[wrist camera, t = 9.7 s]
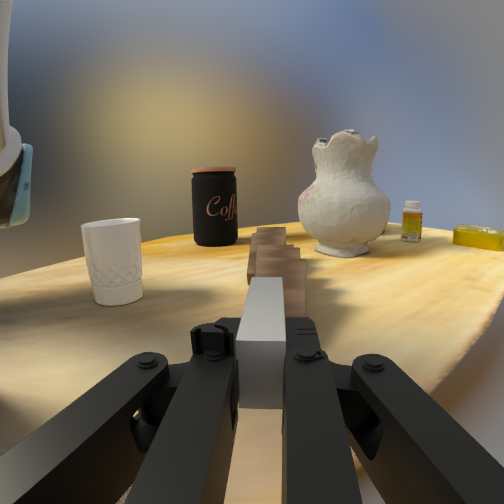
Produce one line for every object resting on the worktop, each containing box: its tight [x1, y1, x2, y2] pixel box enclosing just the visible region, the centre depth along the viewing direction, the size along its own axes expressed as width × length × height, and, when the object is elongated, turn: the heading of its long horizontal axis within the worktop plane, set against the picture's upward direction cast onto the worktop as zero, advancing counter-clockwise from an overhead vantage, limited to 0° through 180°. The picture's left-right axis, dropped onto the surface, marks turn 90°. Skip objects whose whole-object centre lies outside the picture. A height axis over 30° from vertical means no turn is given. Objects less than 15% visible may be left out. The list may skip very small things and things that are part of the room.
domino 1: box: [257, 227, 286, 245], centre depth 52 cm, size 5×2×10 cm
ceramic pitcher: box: [298, 130, 390, 258], centre depth 63 cm, size 22×20×25 cm
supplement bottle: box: [401, 201, 422, 242], centre depth 73 cm, size 6×6×10 cm
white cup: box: [81, 218, 143, 306], centre depth 38 cm, size 8×8×10 cm
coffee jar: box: [191, 167, 238, 247], centre depth 74 cm, size 11×11×18 cm
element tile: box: [453, 224, 504, 251], centre depth 68 cm, size 15×15×5 cm
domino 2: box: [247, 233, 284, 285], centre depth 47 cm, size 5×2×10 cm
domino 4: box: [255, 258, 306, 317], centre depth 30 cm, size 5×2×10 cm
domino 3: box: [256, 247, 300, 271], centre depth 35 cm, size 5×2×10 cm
